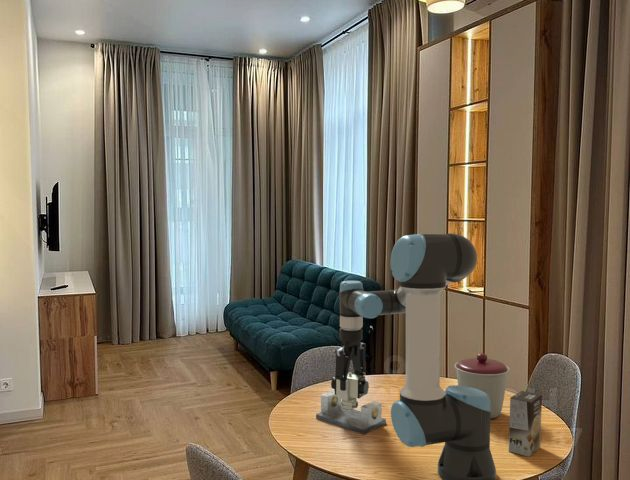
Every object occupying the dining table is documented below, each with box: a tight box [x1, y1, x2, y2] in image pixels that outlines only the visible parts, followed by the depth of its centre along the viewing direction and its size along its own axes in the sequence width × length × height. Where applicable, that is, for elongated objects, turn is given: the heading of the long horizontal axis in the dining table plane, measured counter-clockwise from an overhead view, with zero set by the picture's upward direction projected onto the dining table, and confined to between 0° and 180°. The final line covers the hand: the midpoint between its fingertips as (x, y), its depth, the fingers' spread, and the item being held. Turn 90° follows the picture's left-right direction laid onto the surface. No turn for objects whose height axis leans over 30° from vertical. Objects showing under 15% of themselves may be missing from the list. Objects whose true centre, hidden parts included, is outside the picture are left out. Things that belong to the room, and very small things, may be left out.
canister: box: [454, 352, 511, 420], centre depth 204 cm, size 18×18×21 cm
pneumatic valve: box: [330, 371, 370, 410], centre depth 198 cm, size 6×12×12 cm, turn 62°
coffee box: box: [508, 390, 543, 457], centre depth 176 cm, size 9×6×16 cm
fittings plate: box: [315, 389, 387, 435], centre depth 198 cm, size 20×12×8 cm, turn 48°
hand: (350, 396), depth 198 cm, fingers closed on pneumatic valve, 6 cm apart
